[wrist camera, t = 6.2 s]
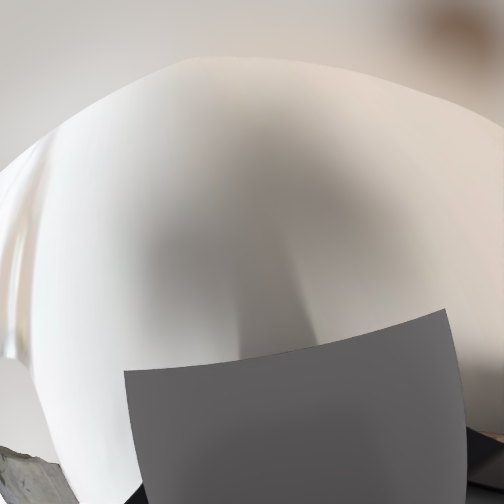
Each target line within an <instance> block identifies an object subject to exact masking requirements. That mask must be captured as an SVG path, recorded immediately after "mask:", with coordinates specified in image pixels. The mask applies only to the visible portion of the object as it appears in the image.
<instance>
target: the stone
mask: <svg viewBox="0 0 504 504" xmlns="http://www.w3.org/2000/svg"><path fill="white" fill-rule="evenodd" d="M124 378H125V387H126V395H127V403H128V410H129V416H130V423H131V429H132V434H133V440H134V445H135V450H136V455H137V459H138V464H139V468H140V472H141V476H142V480H143V484H144V488H145V492H146V495H147V499H148V502H149V504H465V499H466V484H467V437H466V422H465V410H464V401H463V393H462V386H461V379H460V373H459V367H458V362H457V357H456V352H455V347H454V342H453V338H452V334H451V329H450V325H449V321H448V318H447V314H446V310H445V309H442V310H439V311H437V312H434V313H431V314H428V315H425V316H422V317H419V318H416V319H413V320H410V321H407V322H404V323H401V324H398V325H395V326H391V327H388V328H385V329H381V330H378V331H374V332H371V333H367V334H363V335H360V336H356V337H352V338H348V339H344V340H340V341H336V342H332V343H328V344H324V345H319V346H315V347H310V348H305V349H301V350H296V351H291V352H286V353H280V354H275V355H269V356H263V357H258V358H251V359H245V360H238V361H231V362H224V363H216V364H208V365H199V366H189V367H179V368H166V369H152V370H133V371H124Z"/></svg>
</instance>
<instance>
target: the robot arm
mask: <svg viewBox="0 0 504 504" xmlns="http://www.w3.org/2000/svg"><path fill="white" fill-rule="evenodd" d="M466 437H467V484H466V499H465V504H504V443H503V442H501V441H498V440H496V439H493V438H491V437H489V436H486V435H484V434H482V433H480V432H477V431H475V430H473V429H471V428H469V427H467V426H466ZM124 504H149V502H148V499H147V495H146V492H145V488H144V484H143V483H142V484H141V485H140V487H139V488H138V489H137V490H136V491H135V492H134V494H133V495H132V496H131V497H130V498H129V499H128V500H127V501H126V502H125V503H124Z"/></svg>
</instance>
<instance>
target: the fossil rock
mask: <svg viewBox="0 0 504 504" xmlns="http://www.w3.org/2000/svg"><path fill="white" fill-rule="evenodd" d="M0 493H1V495H2V497H3V499H4V500H5V502H6V503H7V504H79V502H78V501H77V499H76V498H75V496H74V494H73V492H72V490H71V488H70V486H69V484H68V483H67V481H66V479H65V477H64V475H63V473H62V470H61V467H60V464H56V463H48V462H46V461H44V460H43V459H41V458H38V457H31V456H30V455H28V454H21V453H17V452H14V451H12V450H10V449H8V448H6V447H2V446H0Z"/></svg>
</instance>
